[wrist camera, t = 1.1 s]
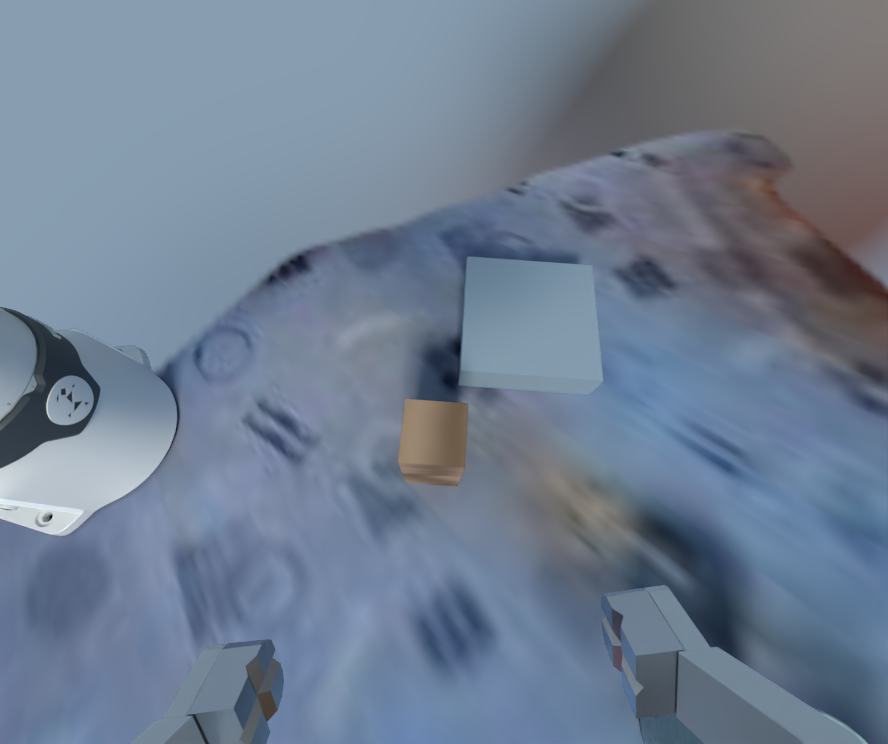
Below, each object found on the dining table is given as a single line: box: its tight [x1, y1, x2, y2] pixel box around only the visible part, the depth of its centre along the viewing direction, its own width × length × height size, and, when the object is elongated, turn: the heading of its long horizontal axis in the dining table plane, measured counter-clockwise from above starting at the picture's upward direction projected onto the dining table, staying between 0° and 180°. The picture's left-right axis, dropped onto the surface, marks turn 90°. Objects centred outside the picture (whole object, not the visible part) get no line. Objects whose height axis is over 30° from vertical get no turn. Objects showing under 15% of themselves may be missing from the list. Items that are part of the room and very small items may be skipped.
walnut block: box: [398, 399, 468, 486], centre depth 36 cm, size 5×5×10 cm
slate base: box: [458, 256, 603, 395], centre depth 45 cm, size 14×14×4 cm
